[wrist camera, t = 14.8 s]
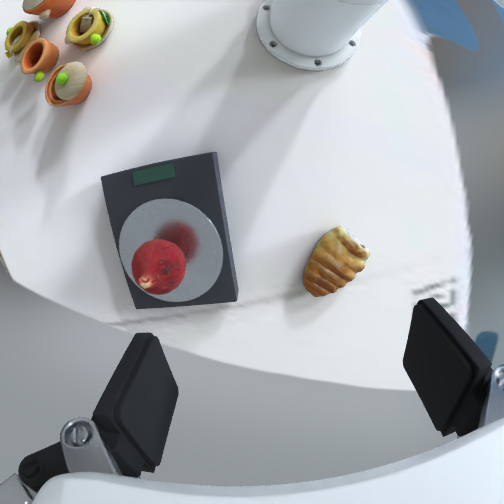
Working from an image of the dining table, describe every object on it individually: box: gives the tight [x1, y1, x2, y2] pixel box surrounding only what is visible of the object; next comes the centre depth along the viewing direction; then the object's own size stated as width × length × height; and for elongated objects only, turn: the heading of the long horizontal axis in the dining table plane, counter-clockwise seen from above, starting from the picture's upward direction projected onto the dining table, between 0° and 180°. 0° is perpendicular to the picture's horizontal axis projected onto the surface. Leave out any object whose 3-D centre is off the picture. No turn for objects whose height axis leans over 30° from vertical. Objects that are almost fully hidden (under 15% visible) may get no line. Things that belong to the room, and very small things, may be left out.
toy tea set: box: [5, 0, 114, 107], centre depth 21 cm, size 26×16×10 cm, turn 43°
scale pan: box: [119, 198, 224, 302], centre depth 33 cm, size 13×13×1 cm
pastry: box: [303, 226, 370, 297], centre depth 35 cm, size 9×7×4 cm
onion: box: [131, 239, 186, 295], centre depth 29 cm, size 6×6×8 cm
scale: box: [101, 152, 238, 309], centre depth 34 cm, size 18×14×3 cm
